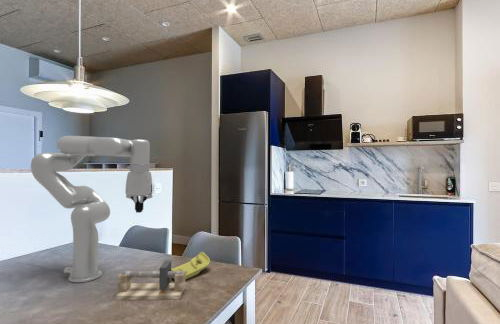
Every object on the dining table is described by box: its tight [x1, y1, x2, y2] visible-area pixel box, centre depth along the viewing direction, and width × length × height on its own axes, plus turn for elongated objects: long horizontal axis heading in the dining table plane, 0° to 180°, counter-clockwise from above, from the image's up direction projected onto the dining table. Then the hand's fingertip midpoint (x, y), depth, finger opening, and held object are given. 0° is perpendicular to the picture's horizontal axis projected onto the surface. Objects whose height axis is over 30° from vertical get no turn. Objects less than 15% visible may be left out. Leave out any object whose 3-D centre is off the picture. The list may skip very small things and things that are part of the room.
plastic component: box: [171, 251, 211, 281], centre depth 131 cm, size 20×7×10 cm
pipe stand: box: [115, 270, 186, 301], centre depth 111 cm, size 24×11×8 cm, turn 92°
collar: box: [158, 260, 172, 290], centre depth 111 cm, size 2×8×8 cm, turn 2°
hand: (139, 212), depth 122 cm, fingers closed
